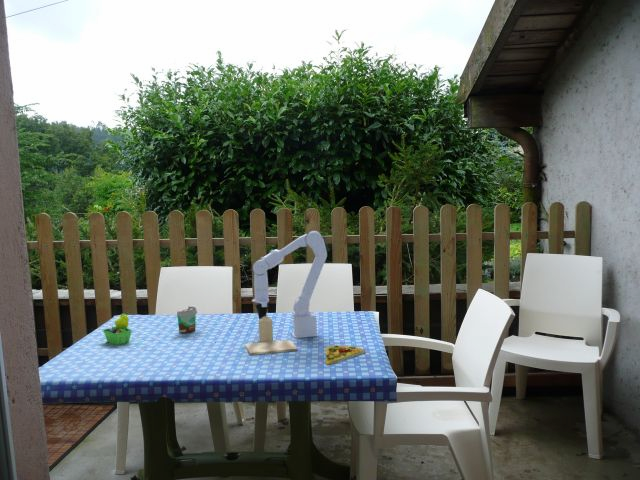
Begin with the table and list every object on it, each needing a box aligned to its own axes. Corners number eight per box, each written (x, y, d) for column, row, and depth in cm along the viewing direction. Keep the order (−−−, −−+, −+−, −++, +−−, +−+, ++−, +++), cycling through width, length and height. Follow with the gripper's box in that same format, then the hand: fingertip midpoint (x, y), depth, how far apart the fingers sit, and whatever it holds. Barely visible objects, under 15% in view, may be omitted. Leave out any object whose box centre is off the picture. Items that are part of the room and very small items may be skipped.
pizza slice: (366, 353, 209) (366, 345, 209) (347, 369, 190) (347, 360, 190) (328, 349, 215) (327, 342, 215) (305, 365, 196) (305, 356, 196)
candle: (259, 339, 230) (258, 315, 229) (273, 339, 230) (272, 315, 229) (259, 343, 224) (258, 318, 224) (273, 342, 225) (272, 318, 224)
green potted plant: (102, 341, 234) (101, 315, 233) (122, 337, 240) (121, 311, 239) (115, 346, 226) (114, 318, 225) (136, 341, 232) (134, 314, 231)
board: (290, 341, 225) (290, 339, 225) (297, 350, 212) (297, 348, 212) (245, 346, 221) (245, 344, 221) (249, 355, 208) (249, 353, 208)
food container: (191, 335, 241) (189, 312, 241) (177, 334, 243) (176, 311, 242) (202, 328, 253) (201, 306, 253) (189, 328, 255) (188, 306, 254)
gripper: (249, 287, 240) (250, 318, 241) (254, 292, 226) (255, 325, 227) (265, 285, 242) (266, 317, 243) (271, 291, 228) (272, 324, 229)
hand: (262, 321), depth 235 cm, fingers closed
